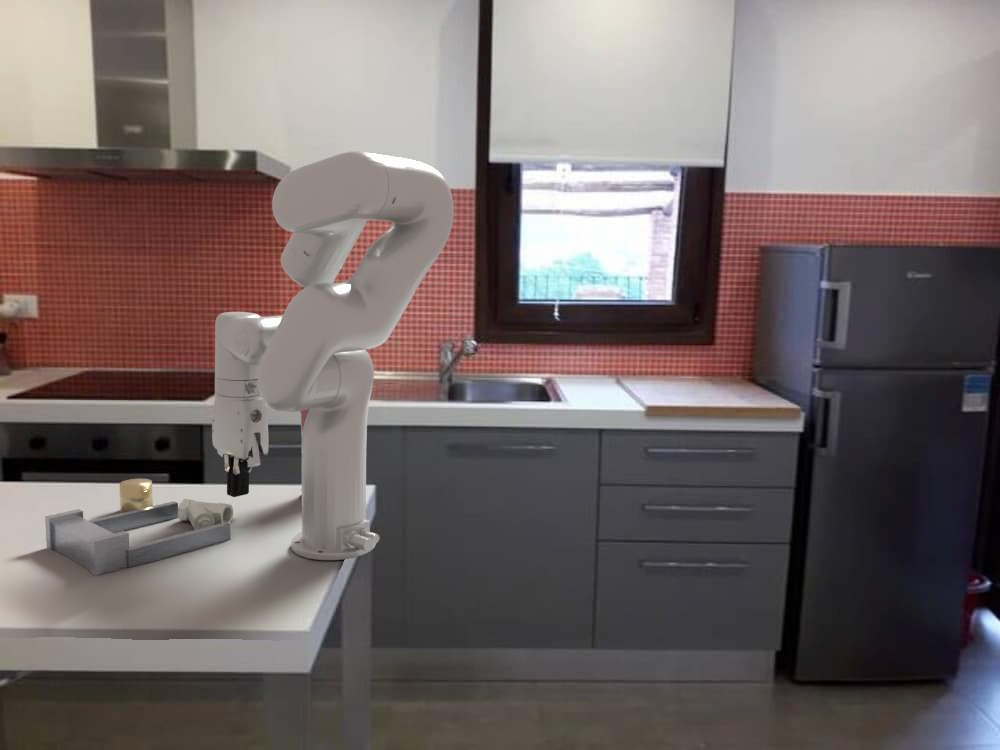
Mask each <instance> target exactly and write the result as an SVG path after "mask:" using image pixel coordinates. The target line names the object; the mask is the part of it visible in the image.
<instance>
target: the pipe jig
mask: <svg viewBox="0 0 1000 750" xmlns="http://www.w3.org/2000/svg"><path fill="white" fill-rule="evenodd" d="M178 508H179V503H178V502H177V501H169V502H166V503H162V504H156V505H153V506H151V507H147V508H142V509H138V510H134V511H129V512H125V513H121V512H120V513H117V514H116V513H115V514H112V515H109V516H104V517H99V518H95V519H89V520H87V519H86V518H84V511H83V510H81V509H79V508H78V509H74V510H73V509H72V510H70V511H64V512H58V513H55V514H51V515H50V514H49V515H45V516H44V518H45V524H44V525H45V540H46V543H45V544H46V549H49V550H50V551H56V552H58V553H59V554H61V555H63V556H64V557H66V558H68V559H69V560H72V561H74V562H75V563H77V564H78V565H80V566H83V568H85V569H87V570H89V571H90V574H92V575H93V576H100V575H103V574H107V573H110V572H115V571H117V570H120V569H124V568H129V569H130V568H133V567H137V566H139V565H144V564H147V563H152V562H154V561H159V560H162V559H165V558H169V557H172V556H176V555H180V554H183V553H186V552H190V551H193V550H194V551H195V550H197V549H201V548H205V547H208V546H212V545H215V544H218V543H223V542H226V541H230V540H231V523H230V524H229V523H227V522H224V523H220V524H214V525H213V526H209V527H205V528H201V529H197V530H195V529H194V530H191V531H186V532H182V533H178V534H175V535H171V536H166V537H163V538H159V539H156V540H155V539H154V540H152V541H148V542H145V543H140V544H136V545H133V546H130V533H129V532H127V531H128V530H132V529H136V528H140V527H144V526H148V525H153V524H156V523H161V522H165V521H169V520H173V519H177V518H178V519H179V517H178Z"/></svg>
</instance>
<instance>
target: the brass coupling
mask: <svg viewBox="0 0 1000 750" xmlns="http://www.w3.org/2000/svg"><path fill="white" fill-rule="evenodd" d="M119 502H120V504H119V505H120V513H125V512H129V511H134V510H138V509H142V508H147V507H151V506H154V503H153V481H152V479H148V478H130V479H126V480H122V481H121V482H119Z"/></svg>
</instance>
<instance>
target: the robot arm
mask: <svg viewBox="0 0 1000 750" xmlns="http://www.w3.org/2000/svg"><path fill="white" fill-rule="evenodd" d="M271 204H272V205H271V206H272V214H273V217H274V219H275V221H276V223H277V224H278V225H279V226H280V227H281V228H282V229H283V230H285V231H287V232H289V233H292V234H291V235H290V238H289V240H288V242H287V243H286V246H285V247H284V248H283V249H284V250H282V253H281V255H280V265H281V268H282V270H283V271H284V272H285V274H286V275H287V276H288V277H289V278H290V280H293V282H295V283H296V284H298V285H299V286H301V287H303V289H301V290H300V291H298V293H297V294H295V296H293V298H292V299H291V300H290V302H288V305H287V307H286V309H285V310H284V312H283V314H282V315H270V316H261V315H259V314H257V313H255V312H247V311H224V312H221V313H219V314H218V315H217V316H216V319H215V322H214V323H215V325H214V326H215V327H214V333H215V334H214V335H215V336H214V341H215V342H214V402H213V410H212V423H211V433H212V434H211V438H212V446H213V447H214V449H215V450H216V451H217V454H218V455H219V456H220V457H222V459H223V461H224V470H225V471H226V495H228V496H230V497H232V498H237V497H241V496H245V495H248V494H249V493H250V473H251V472H252V468H256V467H259V466H261V456H262V457H263V456H268V453H269V446H270V445H269V424H268V423H269V422H268V413H267V406H268V407H270V408H272V409H273V410H275V411H277V412H283V413H295V412H296V413H297V412H300V411H302V410H308V409H310V410H309V412H308V415H307V417H306V420H305V423H304V427H303V432H302V431H301V489H302V491H301V532H298V533H297V534H296V535H294V537H293V538H292V539H291V542H290V543H291V544H290V545H291V550H292V551H293V552H294V553H295V554H296V555H298V556H300V557H302V558H306V559H310V560H317V561H340V560H349V559H353V558H357V557H361V556H364V555H366V554H368V553H369V552H371V551H372V550H373V549H375V547H376V544H378V542H379V541H380V539H381V538H380V535H379V534H377V533H375V532H371V531H370V524H371V523H370V522H371V521H370V520H369V519H367V518H366V516H367V514H366V513H367V512H366V511H367V510H366V509H367V501H366V500H367V440H368V439H367V437H368V436H367V435H368V433H367V431H368V413H369V407H370V406H369V405H370V400H371V396H372V392H373V391H372V390H373V387H374V386H373V385H374V377H375V370H374V364H373V360H372V358H371V356H370V354H369V352H368V351H367V350H371V349H375V348H377V347H380V346H381V345H383V344H385V343H386V342H387V340H388V339H389V337H390V336H391V335H392V332H394V330H395V327H397V324H398V323H399V321H400V319H401V318H402V316H403V314H404V313H405V310H406V309H407V307H408V305H409V304H410V302H411V300H412V298H413V297H414V295H415V293H416V292H417V290H418V288H419V287H420V284H421V282H423V281H422V280H423V279H424V277H425V276H426V275H427V273H428V272H429V270H430V269H431V267H432V266H433V264H434V263H435V261H436V260H437V259H438V257H439V256H440V254H441V253H442V251H443V249H444V247H445V246H446V244H447V241H448V239H449V237H450V234H451V231H452V228H453V224H454V223H453V222H454V211H455V210H454V198H453V195H452V191H451V188H450V186H449V184H448V182H447V180H446V178H445V177H444V176H443V175H442V174H441V173H440V172H439V171H438V170H437V169H435V168H434V167H432V166H431V165H428V164H427V163H423V162H421V161H418V160H417V161H416V160H413V159H409V158H405V157H404V158H403V157H398V156H390V155H384V154H380V153H379V154H377V153H372V152H364V151H348V152H343V153H342V152H341V153H339V154H336V155H332V156H330V157H328V158H324V159H322V160H321V159H320V160H319V161H316V162H312V163H310V164H309V163H308V164H307V165H304V166H301V167H298V168H296V169H293V170H291V171H290V172H288V173H287V174H286V175H285V176H283V178H282V179H281V180H280V181H279V183H278V184H277V186H276V187H275V190H274V192H273V196H272V202H271ZM368 221H375V222H388V223H389V222H390V223H392V225H391V226H390V228H389V229H388V230H387V231H385V232H384V233H383V234H381V235H380V236H379V237H378V238H377V239H376V240H375V241H374V242H373V243H372V244H371V245H370V246H369V247H368V249H367V250H366V251H365V253H364V255H363V257H362V259H361V261H360V263H359V265H358V267H357V268H356V269H355V272H354V273H353V274H352V276H351V277H349V279H347V280H345V281H342V282H335V280H336V278H337V276H338V275H339V273H340V271H341V269H342V267H343V265H344V264H345V262H346V260H347V258H348V257H349V256H350V255H349V254H350V253H351V251H352V249H353V248H354V246H355V244H356V242H357V241H358V240H359V237H360V236H361V233H362V231H363V229H364V228H365V226H366V224H367V222H368Z"/></svg>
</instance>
